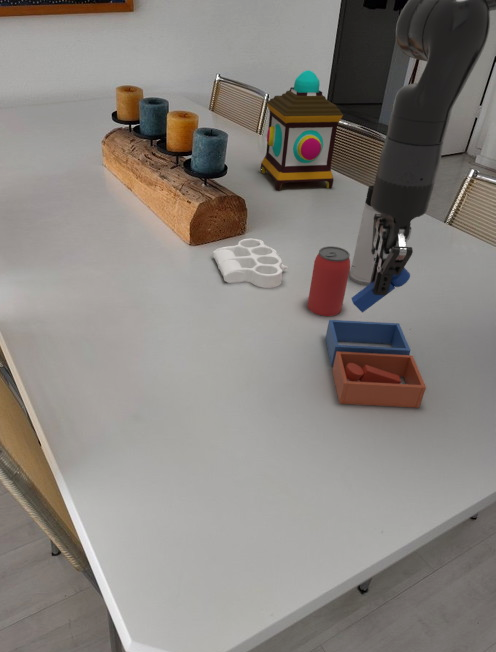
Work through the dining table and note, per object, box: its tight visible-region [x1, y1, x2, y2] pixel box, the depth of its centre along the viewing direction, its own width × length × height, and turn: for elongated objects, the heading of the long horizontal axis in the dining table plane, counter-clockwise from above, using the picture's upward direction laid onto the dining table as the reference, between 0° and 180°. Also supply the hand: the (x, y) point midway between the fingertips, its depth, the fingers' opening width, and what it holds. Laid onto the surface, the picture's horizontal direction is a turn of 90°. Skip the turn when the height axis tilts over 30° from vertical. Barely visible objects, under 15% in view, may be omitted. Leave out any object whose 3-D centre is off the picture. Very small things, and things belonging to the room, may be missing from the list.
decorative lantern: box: [260, 69, 344, 192], centre depth 156 cm, size 20×20×30 cm
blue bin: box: [324, 319, 411, 367], centre depth 92 cm, size 12×8×4 cm
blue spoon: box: [351, 267, 411, 313], centre depth 82 cm, size 9×3×2 cm
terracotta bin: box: [331, 351, 427, 409], centre depth 85 cm, size 12×8×4 cm
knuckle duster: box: [212, 238, 289, 289], centre depth 117 cm, size 3×18×15 cm
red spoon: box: [344, 363, 402, 384], centre depth 84 cm, size 9×3×2 cm, turn 89°
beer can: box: [307, 246, 351, 317], centre depth 102 cm, size 7×7×12 cm
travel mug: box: [349, 184, 381, 286], centre depth 110 cm, size 6×7×20 cm
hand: (378, 290), depth 82 cm, fingers closed on blue spoon, 1 cm apart
